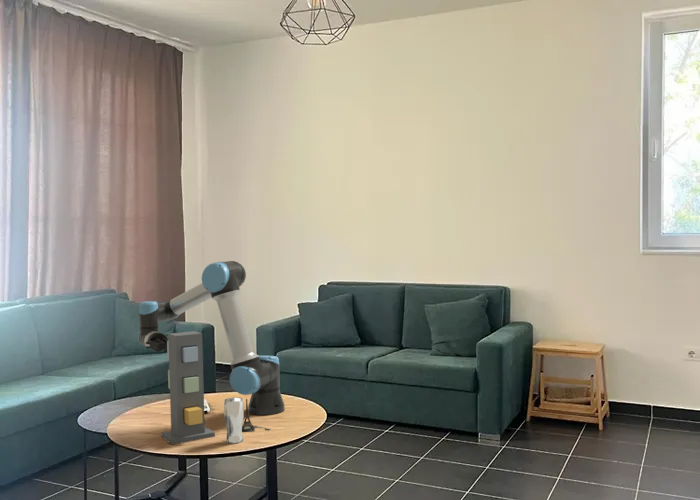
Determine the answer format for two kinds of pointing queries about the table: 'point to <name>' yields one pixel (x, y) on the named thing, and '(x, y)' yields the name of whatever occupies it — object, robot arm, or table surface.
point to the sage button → (188, 383)
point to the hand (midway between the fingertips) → (174, 348)
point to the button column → (177, 396)
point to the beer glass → (234, 419)
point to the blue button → (187, 353)
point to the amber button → (192, 415)
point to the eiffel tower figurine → (249, 423)
